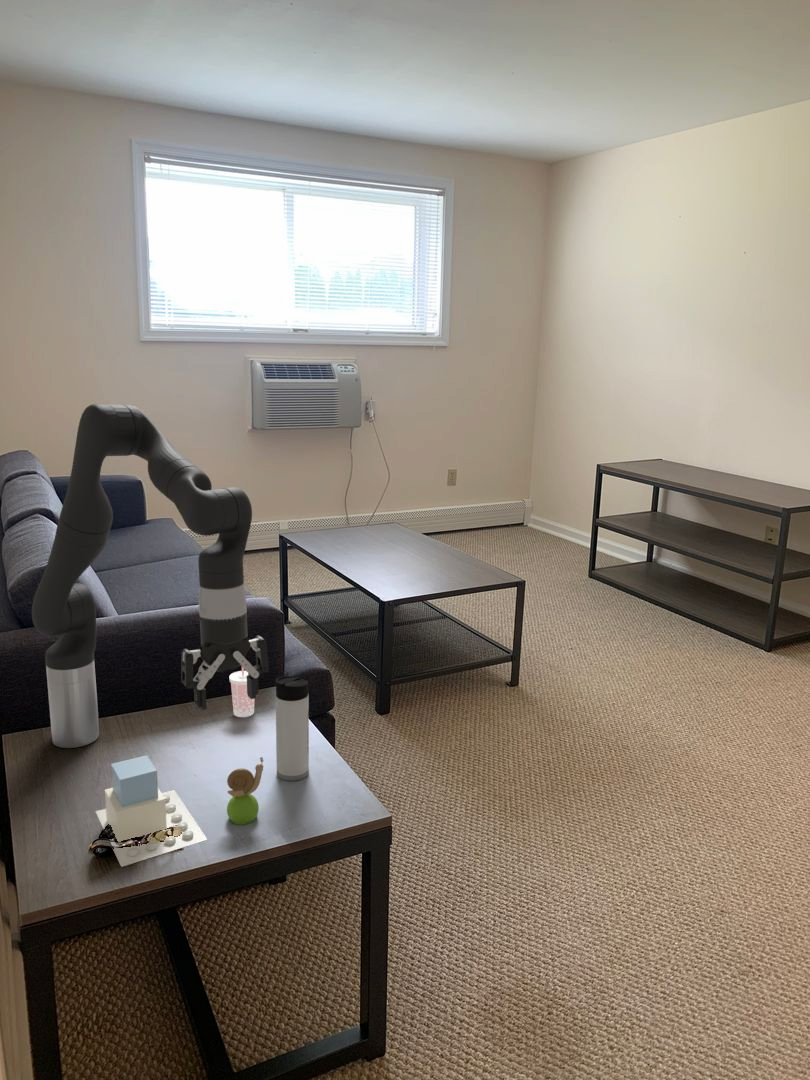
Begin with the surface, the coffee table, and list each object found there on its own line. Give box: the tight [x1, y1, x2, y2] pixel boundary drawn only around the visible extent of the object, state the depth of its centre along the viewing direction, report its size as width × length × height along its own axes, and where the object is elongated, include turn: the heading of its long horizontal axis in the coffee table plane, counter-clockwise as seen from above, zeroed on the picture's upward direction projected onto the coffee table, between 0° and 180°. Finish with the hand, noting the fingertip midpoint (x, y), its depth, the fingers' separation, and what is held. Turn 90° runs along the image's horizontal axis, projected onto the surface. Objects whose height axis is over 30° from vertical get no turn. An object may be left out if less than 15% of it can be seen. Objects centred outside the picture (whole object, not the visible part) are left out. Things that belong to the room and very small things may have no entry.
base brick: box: [104, 787, 167, 842], centre depth 136 cm, size 8×8×6 cm
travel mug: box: [275, 675, 310, 782], centre depth 154 cm, size 6×7×20 cm
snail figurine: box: [226, 756, 264, 825], centre depth 139 cm, size 5×6×12 cm
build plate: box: [94, 789, 208, 868], centre depth 137 cm, size 18×14×2 cm
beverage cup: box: [229, 666, 256, 718], centre depth 181 cm, size 6×6×14 cm
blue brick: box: [110, 754, 159, 807], centre depth 135 cm, size 6×6×5 cm
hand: (227, 702), depth 134 cm, fingers open, 8 cm apart
